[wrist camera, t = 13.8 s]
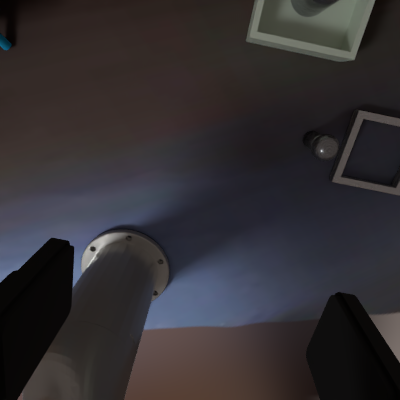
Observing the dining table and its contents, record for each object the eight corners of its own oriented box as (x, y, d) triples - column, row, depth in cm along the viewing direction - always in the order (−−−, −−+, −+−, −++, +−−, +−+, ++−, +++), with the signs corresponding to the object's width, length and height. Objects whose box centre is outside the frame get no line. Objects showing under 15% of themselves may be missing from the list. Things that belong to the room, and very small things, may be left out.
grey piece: (394, 192, 39) (426, 211, 33) (289, 170, 38) (302, 187, 32) (425, 124, 35) (467, 133, 30) (311, 100, 35) (331, 104, 29)
